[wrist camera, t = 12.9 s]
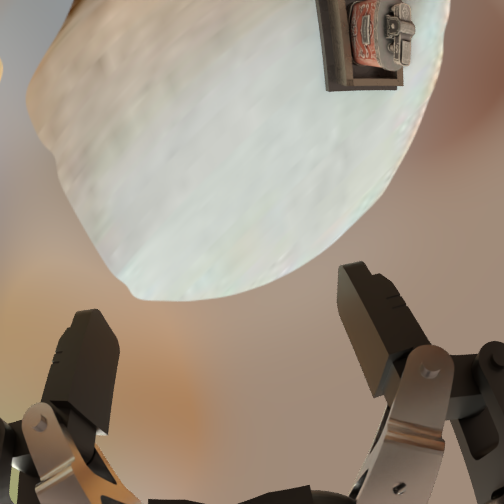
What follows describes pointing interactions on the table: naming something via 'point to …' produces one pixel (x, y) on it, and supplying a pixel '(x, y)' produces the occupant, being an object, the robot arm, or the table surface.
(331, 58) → the rectangular tray
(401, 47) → the lighter
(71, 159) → the table surface
